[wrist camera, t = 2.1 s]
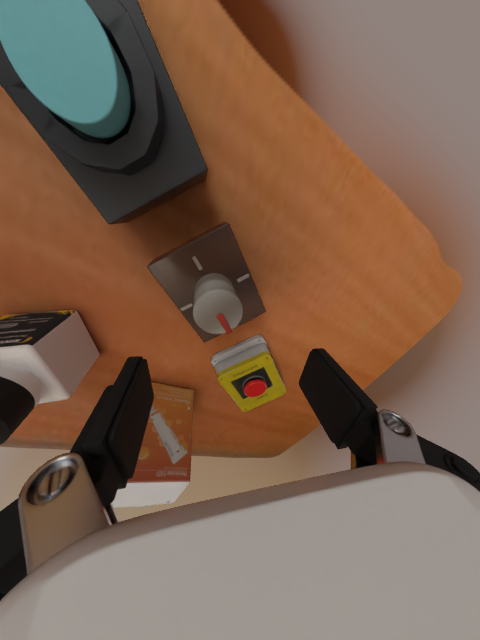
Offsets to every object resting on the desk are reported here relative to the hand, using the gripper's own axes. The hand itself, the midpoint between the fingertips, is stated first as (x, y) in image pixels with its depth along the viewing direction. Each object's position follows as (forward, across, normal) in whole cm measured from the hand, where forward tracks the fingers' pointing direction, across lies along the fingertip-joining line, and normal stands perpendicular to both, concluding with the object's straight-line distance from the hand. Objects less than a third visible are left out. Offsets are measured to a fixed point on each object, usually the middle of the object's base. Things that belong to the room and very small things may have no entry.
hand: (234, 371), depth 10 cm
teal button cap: (+9, +8, -13) cm, 18 cm away
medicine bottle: (+15, +19, +7) cm, 25 cm away
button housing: (+14, +8, -13) cm, 21 cm away
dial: (+12, 0, 0) cm, 12 cm away
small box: (+15, +8, +20) cm, 26 cm away
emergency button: (+15, -7, +16) cm, 23 cm away
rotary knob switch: (+15, 0, 0) cm, 15 cm away
